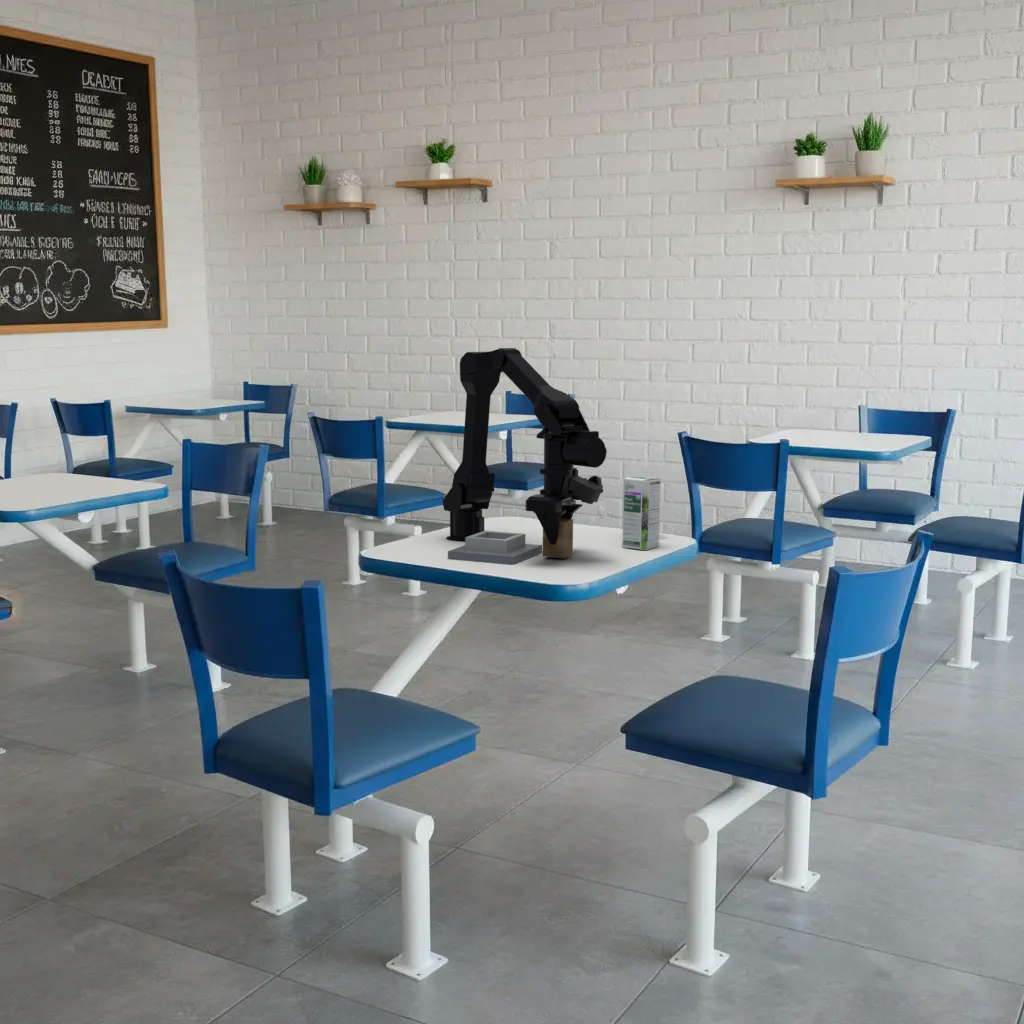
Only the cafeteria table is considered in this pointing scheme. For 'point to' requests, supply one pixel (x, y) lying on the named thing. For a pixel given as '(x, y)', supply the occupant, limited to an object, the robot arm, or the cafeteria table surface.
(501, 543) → the socket block
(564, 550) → the walnut peg
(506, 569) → the cafeteria table surface
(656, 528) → the syrup box
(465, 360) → the robot arm
